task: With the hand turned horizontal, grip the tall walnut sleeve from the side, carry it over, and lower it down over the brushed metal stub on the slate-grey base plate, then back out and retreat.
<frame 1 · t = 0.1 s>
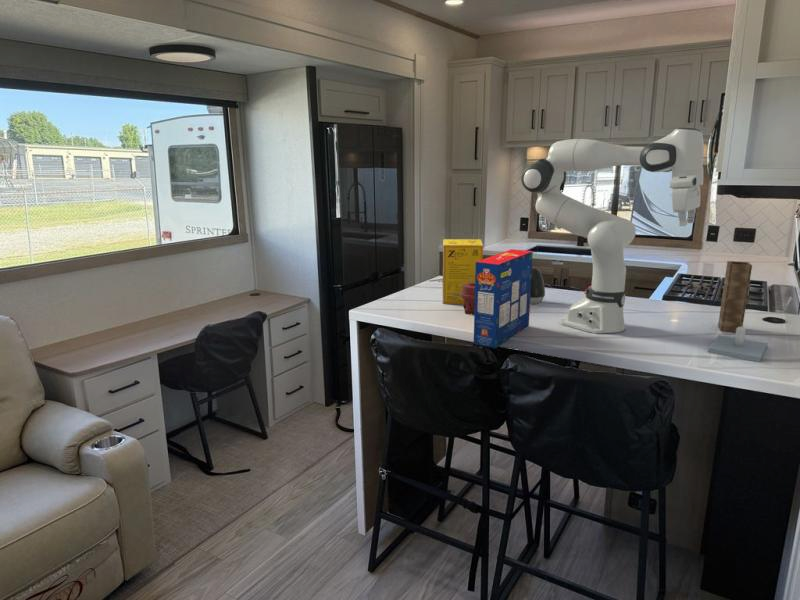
hand: (686, 224, 177), 39 cm above the table, tool pointing down, fingers open, 8 cm apart
base plate: (737, 350, 177), on the table
blue food box: (502, 335, 195), on the table
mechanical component: (472, 313, 221), on the table
packaging box: (461, 299, 242), on the table
walnut sleeve: (729, 329, 197), on the table
dark gray domed cylinder: (532, 303, 235), on the table
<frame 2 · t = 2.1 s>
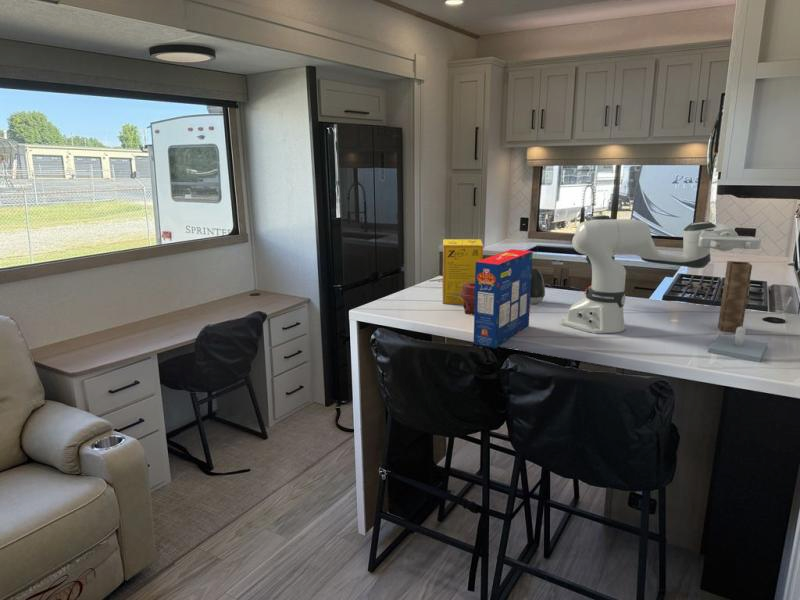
hand: (732, 245, 202), 28 cm above the table, tool horizontal, fingers open, 8 cm apart
nothing on the table moved.
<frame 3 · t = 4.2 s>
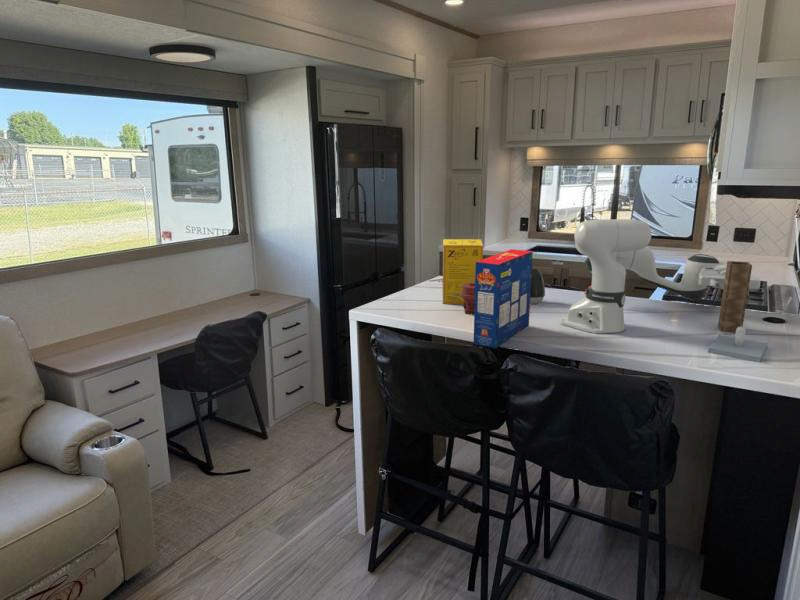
hand: (731, 285, 202), 14 cm above the table, tool horizontal, fingers open, 8 cm apart
nothing on the table moved.
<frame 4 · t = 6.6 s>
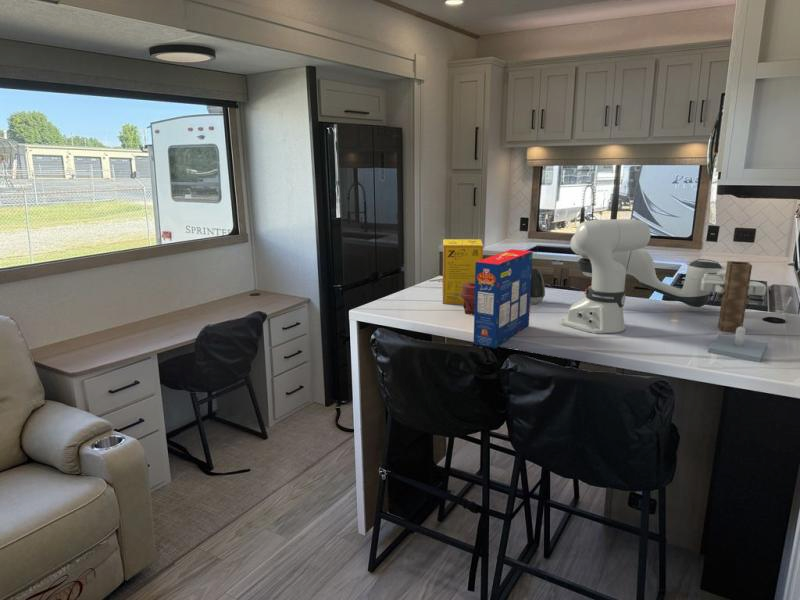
hand: (735, 291, 193), 14 cm above the table, tool horizontal, fingers closed on walnut sleeve, 6 cm apart
walnut sleeve: (729, 329, 197), on the table, touching gripper
everything else where it was.
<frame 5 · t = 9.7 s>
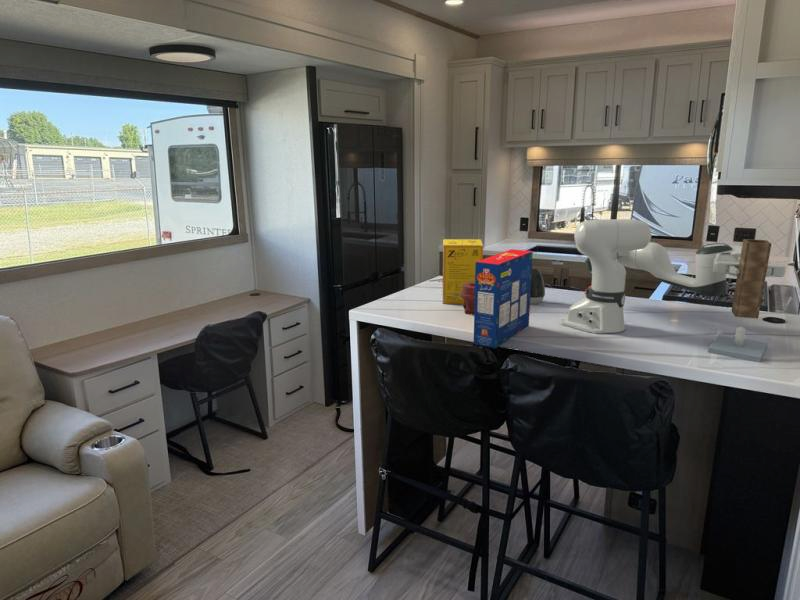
hand: (752, 273, 175), 24 cm above the table, tool horizontal, fingers closed on walnut sleeve, 6 cm apart
walnut sleeve: (744, 314, 179), point 10 cm above the table, touching gripper
everything else where it was.
when the fingers open (17 cm above the table, at t = 12.9 s): walnut sleeve drops 1 cm, resting on base plate.
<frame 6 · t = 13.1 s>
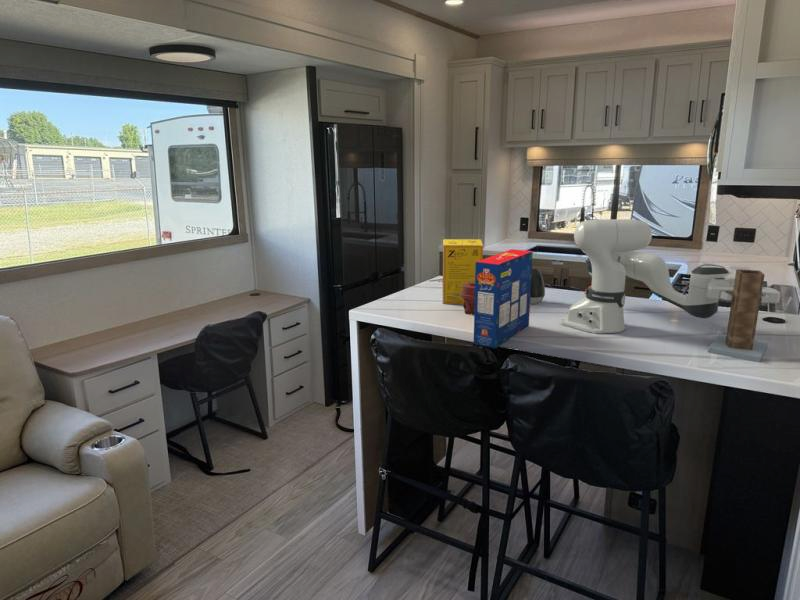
hand: (746, 299, 172), 17 cm above the table, tool horizontal, fingers open, 8 cm apart
walnut sleeve: (738, 345, 177), point 2 cm above the table, touching base plate
everything else where it was.
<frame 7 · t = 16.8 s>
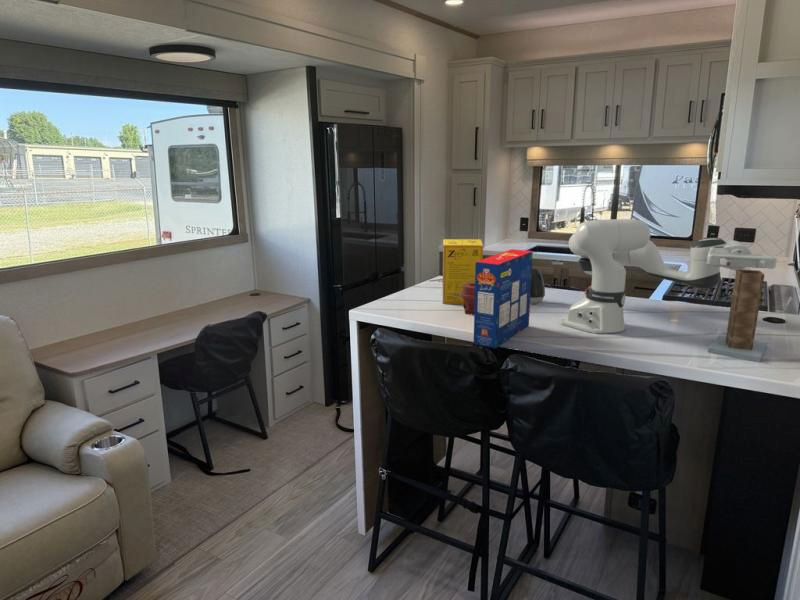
hand: (744, 264, 182), 26 cm above the table, tool horizontal, fingers open, 8 cm apart
nothing on the table moved.
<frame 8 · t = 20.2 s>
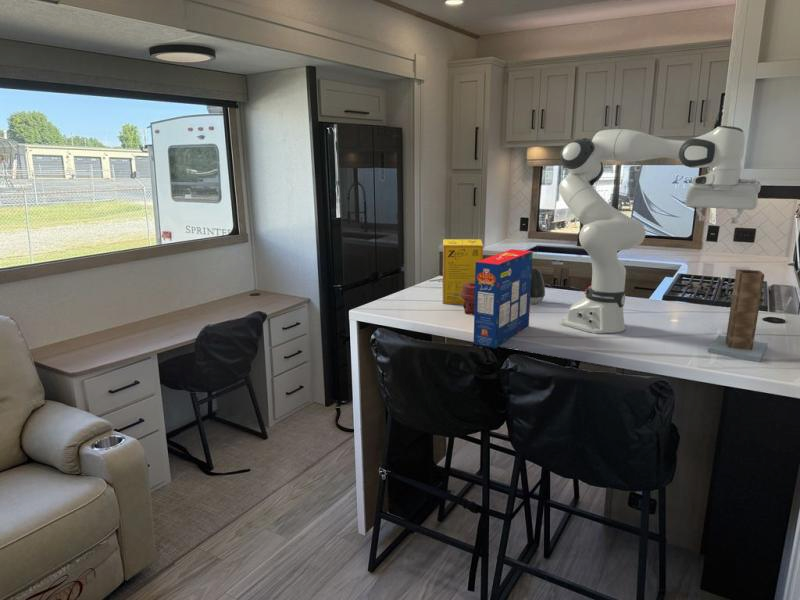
hand: (717, 222, 180), 39 cm above the table, tool pointing down, fingers open, 8 cm apart
nothing on the table moved.
at the end: walnut sleeve 0.1 cm off-centre on the base plate, point 1.5 cm above the base plate's base; walnut sleeve tilted 0°; the gripper is holding nothing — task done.
